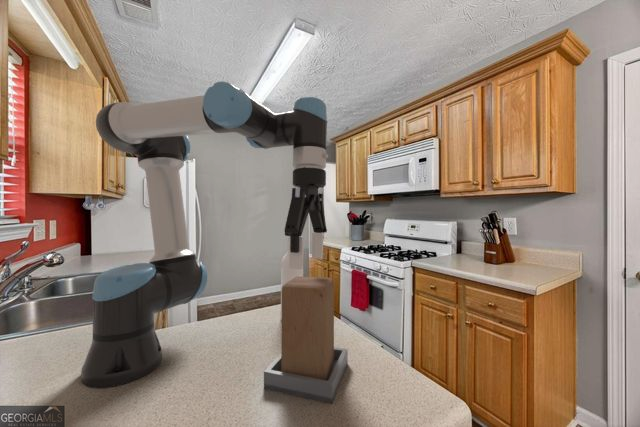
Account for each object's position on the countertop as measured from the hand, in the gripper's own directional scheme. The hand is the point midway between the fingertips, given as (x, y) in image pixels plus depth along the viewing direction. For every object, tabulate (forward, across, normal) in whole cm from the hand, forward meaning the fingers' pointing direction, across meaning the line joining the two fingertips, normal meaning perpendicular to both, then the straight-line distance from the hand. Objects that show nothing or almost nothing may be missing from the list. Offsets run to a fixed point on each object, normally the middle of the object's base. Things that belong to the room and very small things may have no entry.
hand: (307, 263), depth 60 cm
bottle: (+25, +29, +16) cm, 42 cm away
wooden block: (+24, 0, -1) cm, 24 cm away
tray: (+25, 0, -1) cm, 25 cm away
